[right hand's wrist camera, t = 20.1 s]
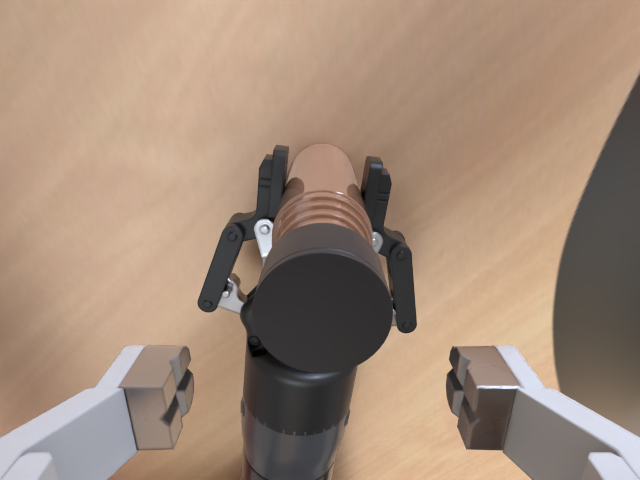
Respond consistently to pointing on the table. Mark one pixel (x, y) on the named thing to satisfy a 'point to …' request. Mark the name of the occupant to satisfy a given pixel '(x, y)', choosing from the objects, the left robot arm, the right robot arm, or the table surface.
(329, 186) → the bottle
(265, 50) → the table surface
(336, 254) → the cap
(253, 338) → the left robot arm
